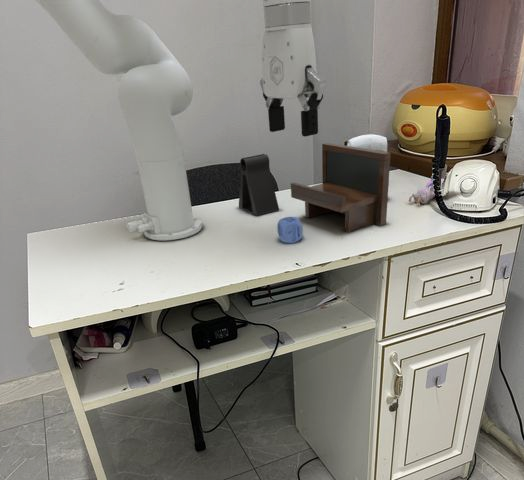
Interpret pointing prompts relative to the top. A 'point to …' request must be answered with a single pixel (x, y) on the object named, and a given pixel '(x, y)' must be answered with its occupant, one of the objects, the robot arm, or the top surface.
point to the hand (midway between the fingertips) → (293, 132)
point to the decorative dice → (290, 229)
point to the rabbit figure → (425, 193)
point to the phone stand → (257, 186)
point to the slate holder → (349, 186)
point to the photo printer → (369, 142)
